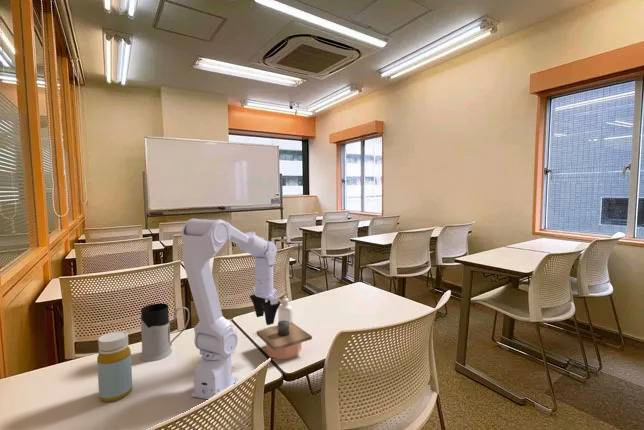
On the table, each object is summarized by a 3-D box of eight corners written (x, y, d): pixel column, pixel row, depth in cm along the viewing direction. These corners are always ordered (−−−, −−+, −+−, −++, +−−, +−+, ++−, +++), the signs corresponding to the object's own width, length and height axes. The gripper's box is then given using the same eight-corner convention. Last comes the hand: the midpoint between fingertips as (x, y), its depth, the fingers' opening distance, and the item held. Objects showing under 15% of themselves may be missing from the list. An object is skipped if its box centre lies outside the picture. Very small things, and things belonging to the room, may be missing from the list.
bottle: (137, 385, 83) (135, 329, 82) (122, 402, 76) (119, 342, 75) (110, 385, 83) (108, 330, 82) (92, 403, 76) (89, 343, 75)
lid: (274, 350, 92) (274, 335, 92) (256, 334, 103) (256, 320, 103) (311, 339, 99) (311, 324, 99) (291, 325, 110) (291, 312, 110)
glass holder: (141, 351, 101) (139, 305, 100) (189, 341, 108) (187, 298, 107) (140, 364, 94) (138, 314, 92) (191, 352, 100) (190, 306, 99)
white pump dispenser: (282, 330, 116) (282, 298, 115) (277, 325, 121) (277, 294, 120) (293, 328, 118) (293, 296, 117) (288, 323, 123) (287, 292, 122)
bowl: (294, 360, 95) (293, 346, 95) (262, 356, 98) (261, 342, 97) (304, 344, 105) (304, 331, 105) (275, 341, 108) (275, 328, 107)
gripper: (286, 281, 97) (286, 324, 98) (266, 271, 109) (266, 310, 109) (264, 285, 93) (265, 330, 94) (246, 274, 105) (247, 315, 105)
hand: (264, 320), depth 101 cm, fingers open, 7 cm apart
